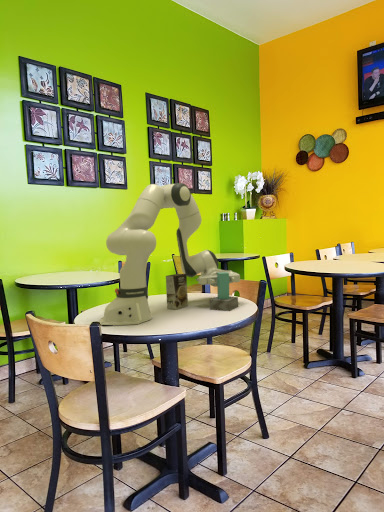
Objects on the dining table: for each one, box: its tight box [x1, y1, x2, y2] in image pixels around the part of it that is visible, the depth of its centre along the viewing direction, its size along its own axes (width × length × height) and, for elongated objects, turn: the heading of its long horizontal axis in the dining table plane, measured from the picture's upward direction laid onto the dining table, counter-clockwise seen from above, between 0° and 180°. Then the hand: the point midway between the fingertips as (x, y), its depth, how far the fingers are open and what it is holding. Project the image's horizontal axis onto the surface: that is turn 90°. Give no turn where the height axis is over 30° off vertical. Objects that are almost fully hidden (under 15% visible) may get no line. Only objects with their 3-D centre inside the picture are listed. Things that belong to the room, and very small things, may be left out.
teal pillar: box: [216, 272, 230, 299], centre depth 186 cm, size 4×4×12 cm
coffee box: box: [165, 273, 189, 310], centre depth 194 cm, size 9×6×16 cm
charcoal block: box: [208, 296, 239, 312], centre depth 187 cm, size 10×10×5 cm
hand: (223, 281), depth 185 cm, fingers open, 8 cm apart
